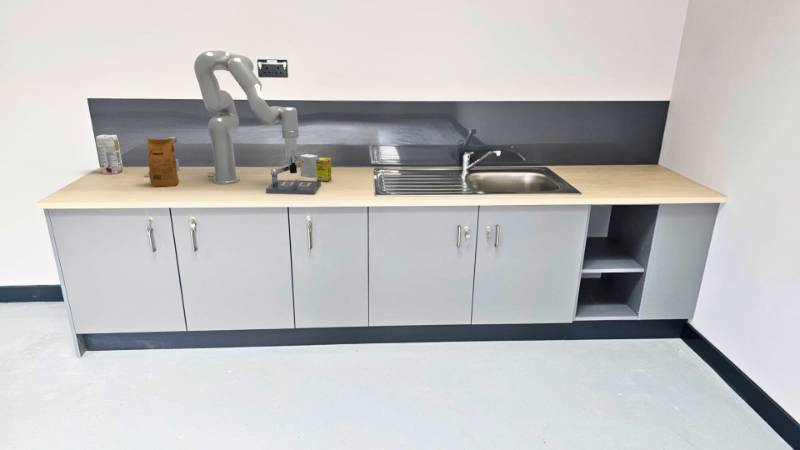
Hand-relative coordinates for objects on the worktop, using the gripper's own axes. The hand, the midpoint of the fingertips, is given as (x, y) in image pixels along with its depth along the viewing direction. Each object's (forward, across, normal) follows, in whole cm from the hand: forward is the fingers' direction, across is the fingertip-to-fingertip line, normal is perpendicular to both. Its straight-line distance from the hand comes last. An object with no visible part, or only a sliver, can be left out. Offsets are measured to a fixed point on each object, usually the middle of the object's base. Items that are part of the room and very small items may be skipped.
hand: (293, 172), depth 238 cm
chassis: (+6, +8, -1) cm, 10 cm away
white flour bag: (+4, -44, -87) cm, 97 cm away
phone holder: (+4, -37, -63) cm, 73 cm away
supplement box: (+6, -5, +15) cm, 17 cm away
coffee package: (+4, -14, -59) cm, 61 cm away
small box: (+6, -16, +10) cm, 20 cm away
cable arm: (-1, -2, -3) cm, 4 cm away
